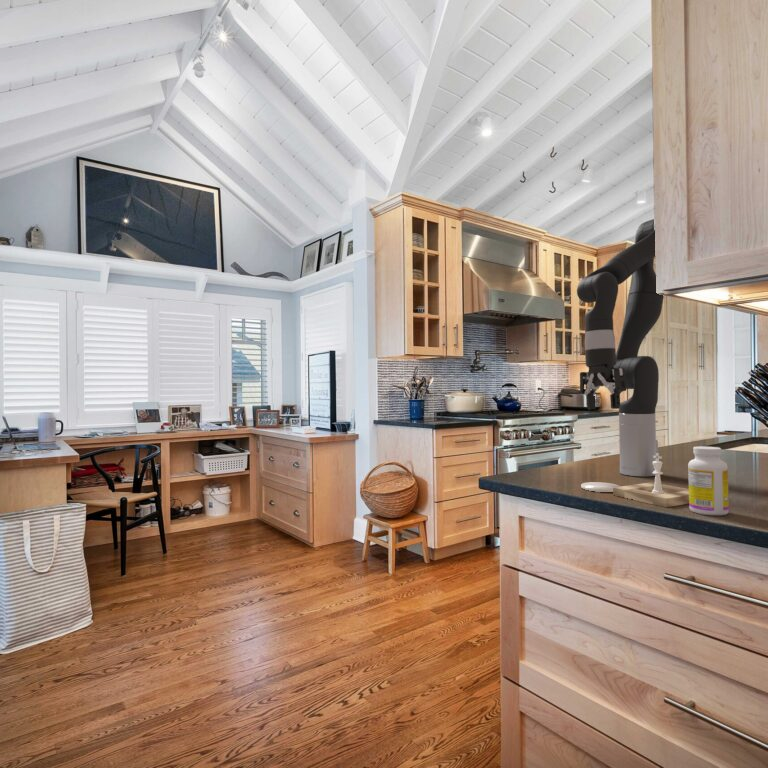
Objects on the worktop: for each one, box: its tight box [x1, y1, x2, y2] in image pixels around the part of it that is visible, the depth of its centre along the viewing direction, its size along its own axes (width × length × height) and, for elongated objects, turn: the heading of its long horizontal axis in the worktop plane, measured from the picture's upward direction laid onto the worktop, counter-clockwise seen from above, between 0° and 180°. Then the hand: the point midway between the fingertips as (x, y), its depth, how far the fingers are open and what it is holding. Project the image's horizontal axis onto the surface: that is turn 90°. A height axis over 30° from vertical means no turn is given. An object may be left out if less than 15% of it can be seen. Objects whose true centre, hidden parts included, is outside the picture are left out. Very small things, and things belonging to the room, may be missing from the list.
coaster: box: [580, 481, 621, 493], centre depth 124 cm, size 9×9×1 cm
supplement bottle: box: [687, 445, 730, 517], centre depth 100 cm, size 7×7×13 cm
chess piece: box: [652, 452, 666, 494], centre depth 113 cm, size 5×5×10 cm
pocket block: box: [612, 481, 689, 508], centre depth 113 cm, size 13×13×2 cm
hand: (603, 409), depth 135 cm, fingers open, 8 cm apart
